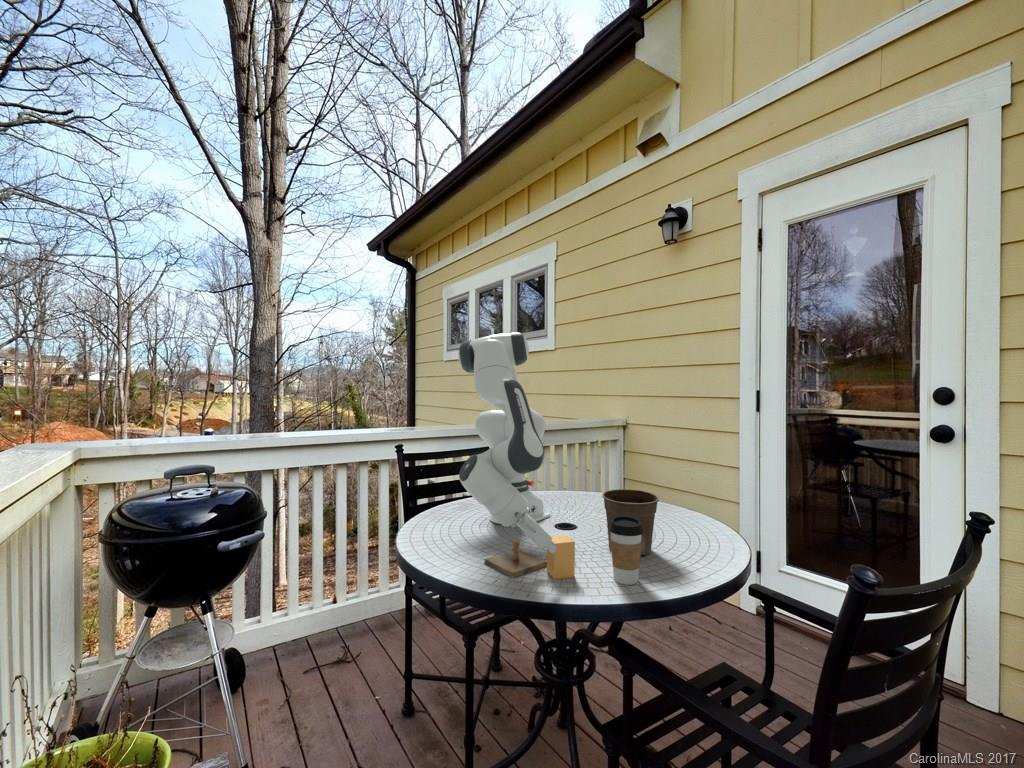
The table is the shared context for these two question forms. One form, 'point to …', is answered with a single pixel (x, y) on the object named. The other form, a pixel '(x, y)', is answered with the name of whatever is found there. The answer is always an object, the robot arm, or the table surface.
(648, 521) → the plant pot
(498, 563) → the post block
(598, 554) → the table surface
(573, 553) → the tall orange pillar
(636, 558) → the coffee cup
